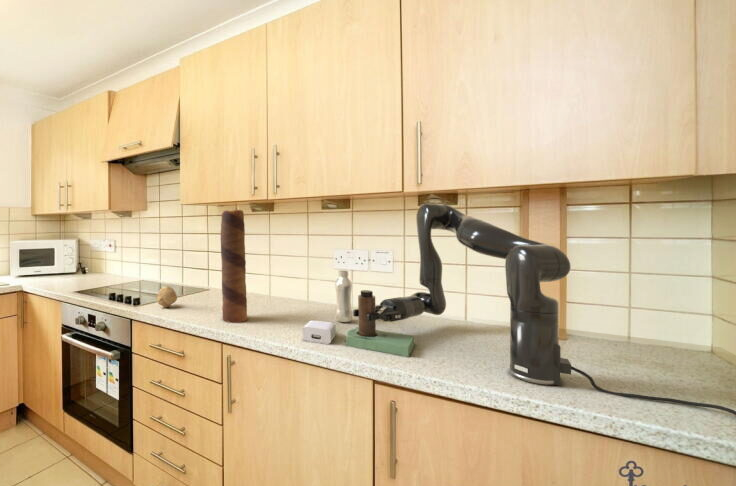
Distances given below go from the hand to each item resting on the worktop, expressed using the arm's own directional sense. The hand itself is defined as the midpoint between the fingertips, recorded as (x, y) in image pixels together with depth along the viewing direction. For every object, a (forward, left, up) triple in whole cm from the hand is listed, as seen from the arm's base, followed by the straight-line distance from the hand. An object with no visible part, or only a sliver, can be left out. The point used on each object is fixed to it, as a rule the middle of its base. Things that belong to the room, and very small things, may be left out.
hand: (361, 315), depth 116 cm
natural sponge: (+90, -3, -10) cm, 90 cm away
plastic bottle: (+13, -23, -10) cm, 28 cm away
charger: (+14, -1, -10) cm, 17 cm away
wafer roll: (+51, -2, -9) cm, 52 cm away
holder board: (-5, -2, -9) cm, 11 cm away
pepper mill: (-1, -2, -8) cm, 8 cm away
